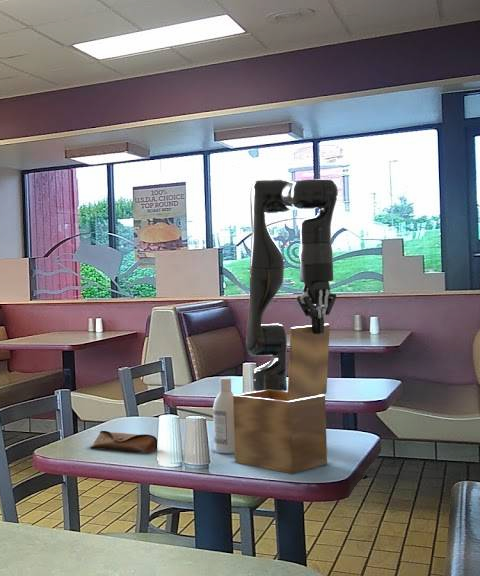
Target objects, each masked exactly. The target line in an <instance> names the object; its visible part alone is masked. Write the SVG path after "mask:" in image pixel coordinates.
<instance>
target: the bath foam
mask: <svg viewBox="0 0 480 576" xmlns="http://www.w3.org/2000/svg"><path fill="white" fill-rule="evenodd" d="M233 395H234V393H233V391H232V379H231V378H230V377H220V378H219V393H218V394H217V396H216V397H215V399H214V401H213V404H212V405H213V406H212V415H213V418H212V419H213V421H212V422H213V449H214V451H215V452H216V453H219V454H224V455H225V454H226V455H227V454H229V455H231V454H235V434H234V404H233Z"/></svg>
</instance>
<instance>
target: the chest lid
mask: <svg viewBox="0 0 480 576" xmlns="http://www.w3.org/2000/svg"><path fill="white" fill-rule="evenodd" d="M330 330H331V324H330V323H324V333H323V334H313V333H312V325H303V326H293V327H290V331H289V332H290V334H289V335H290V336H289V353H288V354H289V356H288V377H287V378H288V379H287V391H288V400H294V399H300V398H305V397H311V396H316V395H327V394H328V393H327V392H328V391H327V390H328V370H329V369H328V368H329V352H330V351H329V348H330Z"/></svg>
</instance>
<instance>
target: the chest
mask: <svg viewBox="0 0 480 576" xmlns="http://www.w3.org/2000/svg"><path fill="white" fill-rule="evenodd" d="M233 404H234V434H235V453H234V459H235V463H236V464H237V463H238V464H242V465H248V466H251V467H257V468H260V469H261V468H262V469H265V470H266V469H267V470H272V471H277V472H281V473H286V474H294V473H295V474H296V473H299V472H302V471H306V470H310V469H313V468H319V467H322V466H325V465H327V464H328V447H327V444H328V443H327V415H326V414H327V413H326V394H322V395H316V396H311V397H305V398H300V399H294V400H288V390H287V391H280V390H270V389H268V390H262V391H256V392H253V391H251V392H246V393H245V392H244V393H239V394H233Z"/></svg>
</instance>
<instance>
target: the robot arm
mask: <svg viewBox="0 0 480 576" xmlns="http://www.w3.org/2000/svg"><path fill="white" fill-rule="evenodd" d="M338 190H339V189H338V187H337V184H336V182H335V181H334V180H333V179H330V178H318V179H316V178H314V179H299V180H298V179H297V180H295V181H290V180H286V179H264V180H262V179H261V180H256V181H254V182H253V183H252V185H251V187H250V227H251V238H250V239H251V241H250V258H249V259H250V260H249V302H248V303H249V304H248V306H249V307H248V313H247V323H246V333H245V334H246V335H245V346H246V352H247V353H248V355H250V357H271V359H270V360H269V361H268V362H267V363H265V364H263V365H261V366H259V367H256V368H254V369H253V371H252V388H253V391H252V392H256V391H262V390H268V389H270V390H280V391H288V385H287V369H288V367H287V366H288V364H287V361H288V360H287V359H288V358H287V356H288V355H287V354H288V352H287V351H288V337H287V336H288V335H287V331H286V328H285V327H284V325H282V324H279V323H271V324H270V323H269V324H263V323H262V322H263V318H264V315H265V312H266V311H267V308H268V307H269V305H270V304H271V302H272V300H273V299H274V298H275V296H276V295H277V293H278V292H279V290H280V289H281V287H282V285H283V283H284V279H285V278H284V277H285V276H284V275H285V257H284V256H283V253H282V251H281V250H280V248H279V247H278V245H277V244H276V242H275V240H274V239H273V237H272V235H271V234H270V232H269V230H268V226H267V223H266V214H281V213H286V212H288V211H289V212H290V211H291V210H294V209H295V210H310V209H319V210H318V212H317V215H316V216H314V217H309V218H306V219H303V220H301V221H300V222H299V227H298V228H299V250H298V264H299V265H298V267H299V281H300V282H301V283H303V284H304V285H303V288H302V292H303V293H302V294H301V295H297V297H296V299H297V302H298V304H299V306H300V308H301V309H302V311H303V314H304V315H305V317H309V318H310V319H311V326H312V333H313V334H323V333H324V324H325V318H326V316H329V315H330V314H331V311H332V310H333V307H334V304H335V302H336V299H337V294H336V293H332V292H331V287H330V282H332V281H333V280H334V259H333V257H334V256H333V248H332V247H333V246H332V235H331V234H332V232H331V231H332V230H331V227H332V221H333V215H334V210H335V207H336V203H337V199H338V195H339V191H338ZM167 407H168V408H170V409H171V410H175V411H181V412H185V413H186V412H187V413H191V414H195V415H200V416H204V417H208V418H212V419H213V414H209V413H205V412H200V411H197V410H191V409H186V408H181V407H176V406H173V405H172V403H171V402H169V403H168V404H167V405H166V408H167Z"/></svg>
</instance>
